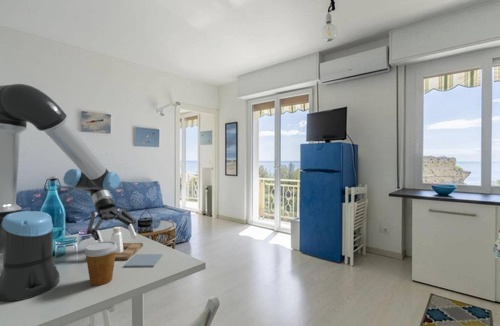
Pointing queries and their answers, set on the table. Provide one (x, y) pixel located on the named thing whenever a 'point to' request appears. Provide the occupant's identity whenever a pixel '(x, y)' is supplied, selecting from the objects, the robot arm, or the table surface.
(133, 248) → the walnut frame
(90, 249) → the disposable coffee cup
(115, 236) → the pepper shaker
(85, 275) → the table surface
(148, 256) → the grey mat
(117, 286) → the table surface
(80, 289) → the table surface
